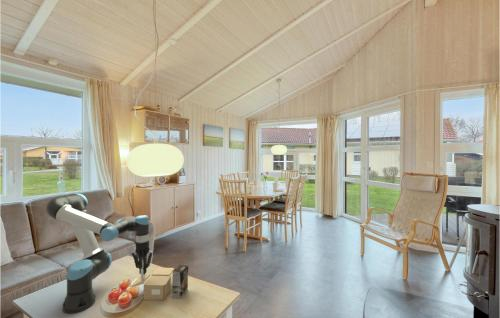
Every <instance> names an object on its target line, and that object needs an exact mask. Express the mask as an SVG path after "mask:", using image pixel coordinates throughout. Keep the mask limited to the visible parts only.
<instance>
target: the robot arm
mask: <svg viewBox="0 0 500 318" xmlns="http://www.w3.org/2000/svg"><path fill="white" fill-rule="evenodd" d="M88 203H89V201H88V199H87V197H86V196H85V195H84V194H82V193H69V194H66V195H60V196H55V197H53V198H51V199H49V201H48V202H47V203H46V206H45V211H46V214H47V215H48V216H49V217H50V218H52V219H54V220H56V221H59V222H60V221H64V222H67V223H69V224H70V225H71V227H72V230H73V233H74V234H75V238H76V239H77V241H78V245H79V247H80V249H81V250H82V253H83V257H82V259H81V260H79V261H76V262H73V263H72V264H71V265H69V267H68V268H67V271H66V272H67V273H66V296H65V298H64V301H63V303H62V309H61V310H62V312H63V313H65V314H75V313H80V312H83V311H86V310H87V309H89V308H91V307H92V306H93V305H94V304H95V302H96V294H95V292H94V289H93V280H95V279H97V277H99V276H100V275H101V274H103V273H105V272H106V271H107V270H108V269H109V268H110V267H111V265H112V263H113V257H112V255H111V253H110V252H108V251H105V249H104V248H103V247H102V248H101V246H100V245H99V243H98V241H97V238H96V235H95V234H97V235H100V238H101V239H102V240H103V241H104V242H110V241H113V240H116V239H117V238H118V237H120V236H122V235H124V234H126V233H128V232H129V233H135V250H134V251H133V252H132V253H131V257H132V258H133V261H134V264H135V268H136V269H139V275H140V277H141V280H144V278H145V276H146V274H147V269H148V268H149V267H150V264H151V261H152V256H153V254H154V251H153V250H151V249H150V227H149V226H150V225H149V224H150V220H149V216H148V215H145V214H144V215H143V214H142V215H137V216H136V217H135V219H134V218H127V219H126V218H122V219H121V218H120V219H117V221H116V222H115V223H111V222H109V221H106V220H104V219H100V218H98V217H96V216H93V215H91V214H89V213H87V211H88V209H87V207H88Z"/></svg>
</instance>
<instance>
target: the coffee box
mask: <svg viewBox="0 0 500 318" xmlns="http://www.w3.org/2000/svg"><path fill="white" fill-rule="evenodd" d="M188 285H189V265H187V264H186V265H183V264H179V265H178V266H177V267H176V268H174V270H173V272H172V276H171V297H172V298H176V299H179V300H180V299H182V298H183V297H184V295H185V294H186V293H187V292H188V289H189V286H188Z"/></svg>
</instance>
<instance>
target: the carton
mask: <svg viewBox="0 0 500 318" xmlns="http://www.w3.org/2000/svg"><path fill="white" fill-rule="evenodd" d="M174 270H175V267H156V269H155V270H154V271H153V272H152V274H151V275H150V276H149V277H148V278H147V280H146V281H145V282H144V283H143V300H144V301H145V300H147V301H149V300H150V301H163V300H166V298H167V297H168V295H169V294H170V292H171V291H172V276H171V274H173V271H174Z"/></svg>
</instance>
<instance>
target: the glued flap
mask: <svg viewBox="0 0 500 318" xmlns="http://www.w3.org/2000/svg"><path fill="white" fill-rule="evenodd" d="M150 276H151V274H147V275H146V274H145V278H144V280H141V276H140V277H136V278H135V279H134V280H133V281H132V282H131V283H130V284H131V285H130V284H129V286H130V287H131V286H132V287H131V288H134V287H138V286H140V285H144V284H145V283H146V281H147V280H148V279H149V278H150Z"/></svg>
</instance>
